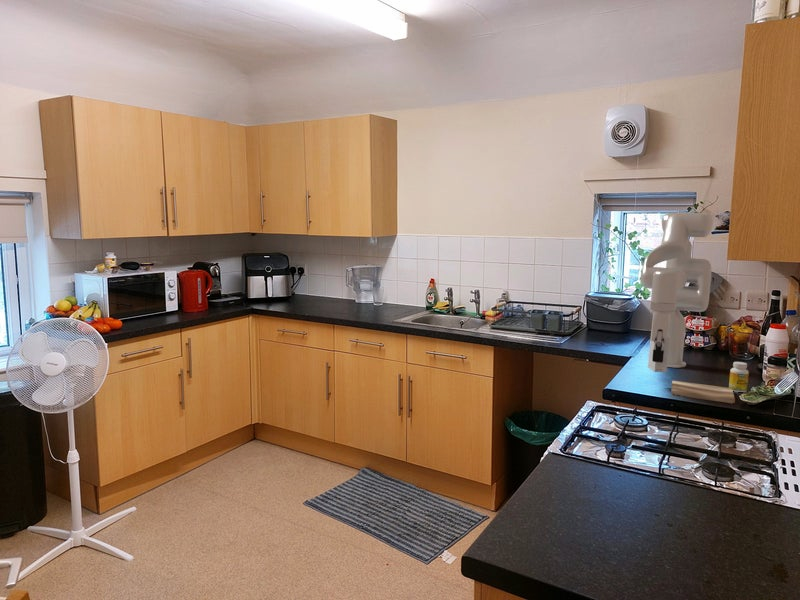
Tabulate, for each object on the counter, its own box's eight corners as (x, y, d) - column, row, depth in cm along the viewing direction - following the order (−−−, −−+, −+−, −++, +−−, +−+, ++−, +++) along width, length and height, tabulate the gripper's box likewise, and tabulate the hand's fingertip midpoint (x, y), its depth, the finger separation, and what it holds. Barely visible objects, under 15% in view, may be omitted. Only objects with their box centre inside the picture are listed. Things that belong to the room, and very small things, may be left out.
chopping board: (671, 384, 203) (672, 380, 203) (731, 392, 195) (731, 388, 195) (670, 394, 190) (671, 390, 190) (734, 403, 183) (734, 399, 182)
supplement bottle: (739, 388, 201) (742, 361, 200) (750, 393, 196) (753, 365, 194) (724, 388, 200) (727, 361, 199) (735, 393, 195) (738, 364, 194)
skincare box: (667, 372, 196) (670, 337, 194) (654, 372, 196) (657, 337, 194) (659, 367, 202) (662, 333, 200) (647, 367, 202) (650, 333, 200)
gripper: (652, 302, 205) (647, 352, 207) (648, 310, 189) (644, 363, 192) (675, 304, 201) (670, 355, 204) (674, 312, 186) (669, 366, 189)
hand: (658, 358), depth 198 cm, fingers closed on skincare box, 7 cm apart
